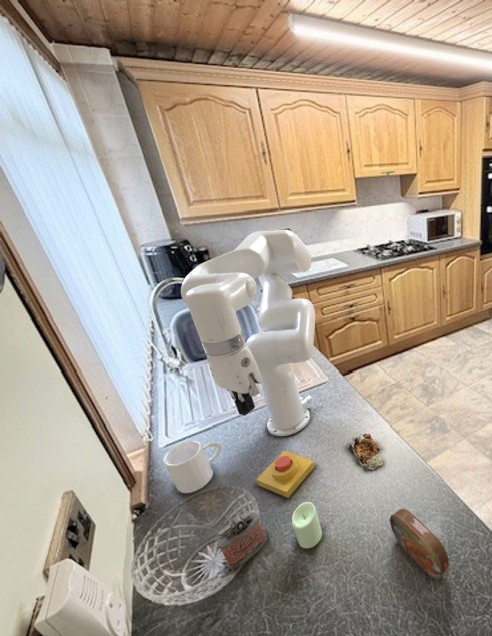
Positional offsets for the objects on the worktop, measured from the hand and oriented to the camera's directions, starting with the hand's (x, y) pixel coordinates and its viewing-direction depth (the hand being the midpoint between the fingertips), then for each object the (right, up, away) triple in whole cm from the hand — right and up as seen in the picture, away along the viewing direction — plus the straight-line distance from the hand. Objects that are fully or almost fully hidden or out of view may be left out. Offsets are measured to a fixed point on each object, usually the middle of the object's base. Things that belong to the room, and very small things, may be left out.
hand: (247, 410), depth 81 cm
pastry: (+26, -16, +15) cm, 34 cm away
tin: (+40, -27, -9) cm, 49 cm away
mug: (-17, -20, +11) cm, 29 cm away
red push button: (+5, -16, +8) cm, 19 cm away
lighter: (+4, -28, -7) cm, 29 cm away
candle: (+16, -26, -5) cm, 31 cm away
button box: (+5, -20, +10) cm, 23 cm away
